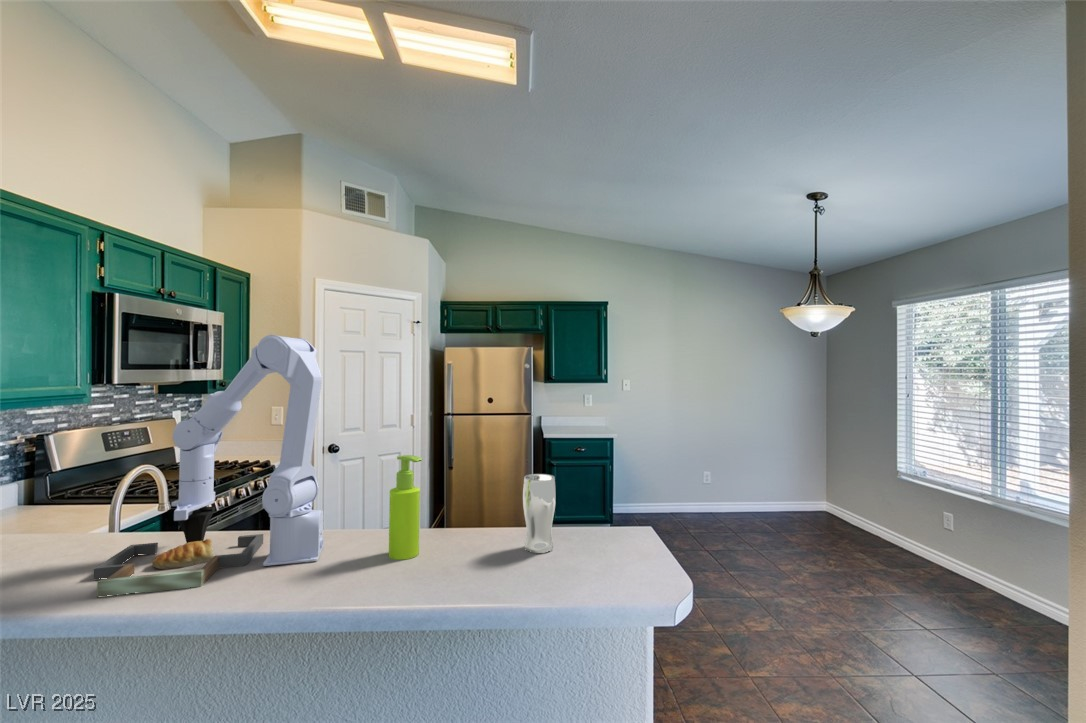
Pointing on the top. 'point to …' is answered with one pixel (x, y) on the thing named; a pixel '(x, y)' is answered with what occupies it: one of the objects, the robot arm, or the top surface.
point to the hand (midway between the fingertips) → (195, 545)
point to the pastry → (185, 555)
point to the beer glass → (539, 511)
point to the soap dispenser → (404, 513)
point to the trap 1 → (123, 559)
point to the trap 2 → (242, 558)
